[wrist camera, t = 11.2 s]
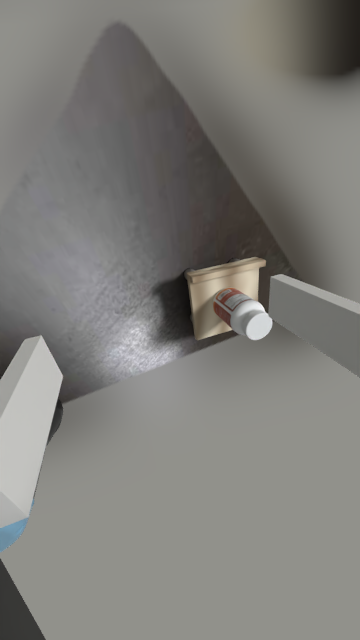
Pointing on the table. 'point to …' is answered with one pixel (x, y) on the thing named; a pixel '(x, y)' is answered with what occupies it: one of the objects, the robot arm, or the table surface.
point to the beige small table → (210, 283)
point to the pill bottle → (242, 313)
